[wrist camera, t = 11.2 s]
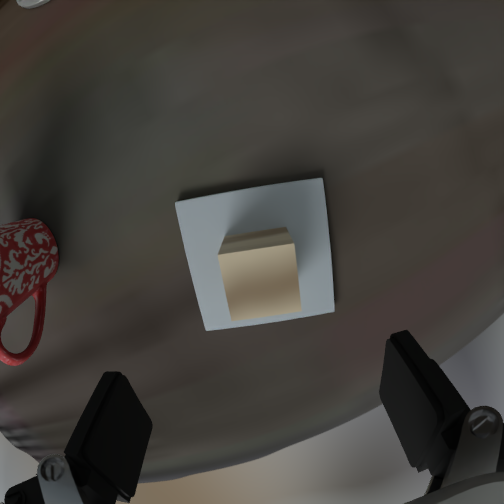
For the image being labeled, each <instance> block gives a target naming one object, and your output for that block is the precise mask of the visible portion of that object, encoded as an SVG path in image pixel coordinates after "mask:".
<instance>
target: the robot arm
mask: <svg viewBox="0 0 504 504" xmlns="http://www.w3.org/2000/svg"><path fill="white" fill-rule="evenodd" d="M48 1H50V0H17V3H18V5H20V6H22V7H24V8H27V9H28V8H35V7H38V6H40V5H43V4H45V3H47V2H48ZM379 394H380V398H381V401H382V403H383V405H384V407H385V409H386V411H387V413H388V416H389V418H390V420H391V422H392V424H393V427H394V429H395V431H396V433H397V435H398V438H399V440H400V442H401V445H402V447H403V449H404V451H405V454H406V456H407V458H408V461H409V463H410V465H411V466H412V467H416V468H417V470H418V472H421V471H423V470H426V469H429V471H430V473H431V475H432V477H431V480H430V483H429V485H428V487H427V490H426V492H425V494H424V496H422V497H419V498H417V499H414V500H412V501H410V502H407V503H404V504H504V423H503V419H502V417H501V415H500V413H499V412H498V411H497V410H496V409H494V408H492V407H489V406H479V407H475V408H474V409H472V410H470V408H469V407H468V405H467V404H466V403H465V401H464V400H463V398H462V397H461V395H460V394H459V393H458V391H457V390H456V388H455V387H454V386H453V384H452V383H451V382H450V381H449V379H448V378H447V376H446V375H445V373H444V372H443V371H442V369H441V368H440V367H439V365H438V364H437V363H436V362H435V361H434V360H433V359H430V358H429V357H428V356H427V354H426V353H425V352H424V350H423V349H422V348H421V347H420V345H419V344H418V343H417V341H416V340H415V339H414V338H413V336H412V335H411V334H410V332H409V331H408V330H404V331H400V332H397V333H393V334H391V336H390V339H387V341H386V348H385V356H384V364H383V371H382V377H381V384H380V390H379ZM151 431H152V421H151V419H150V417H149V416H148V414H147V413H146V411H145V409H144V408H143V406H142V404H141V403H140V401H139V399H138V397H137V396H136V394H135V392H134V390H133V389H132V387H131V385H130V383H129V381H128V379H127V378H126V376H124V375H122V373H121V372H105V373H104V374H103V376H102V377H101V379H100V381H99V383H98V385H97V387H96V389H95V390H94V392H93V394H92V396H91V398H90V400H89V402H88V404H87V406H86V408H85V410H84V412H83V414H82V415H81V417H80V419H79V421H78V423H77V426H76V428H75V430H74V432H73V434H72V436H71V438H70V440H69V442H68V444H67V446H66V448H65V451H64V453H65V454H66V455H65V458H64V457H63V456H61V455H59V454H51V455H48V456H46V457H45V458H43V459H42V460H41V462H40V463H39V465H38V469H37V475H38V476H36V477H33V478H31V479H29V480H27V481H24V482H22V483H20V484H17V485H15V486H13V487H11V488H9V490H8V491H7V492H6V494H5V499H4V500H5V504H115V503H116V500H117V501H122V502H127V503H130V499H131V497H133V496H134V495H135V491H136V487H137V484H138V480H139V476H140V472H141V468H142V464H143V460H144V456H145V453H146V449H147V445H148V442H149V438H150V434H151ZM0 504H4V503H3V502H1V503H0Z"/></svg>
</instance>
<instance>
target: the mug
mask: <svg viewBox="0 0 504 504" xmlns="http://www.w3.org/2000/svg"><path fill="white" fill-rule="evenodd" d="M58 262H59V256H58V248H57V244H56V241H55V239H54V236H53V234H52V233H51V231H50V230H49V228H48V227H47V226H46V225H45V224H44V223H43V222H41V221H40V220H38V219H35V218H28V219H23V220H20V221H16V222H12V223H8V224H4V225H0V360H1V361H2V362H4V363H6V364H8V365H11V366H16V365H20V364H22V363H24V362H25V361H26V360H27V359H28V358H29V357H30V356H31V355H32V354H33V353H34V351H35V350H36V348H37V346H38V344H39V342H40V339H41V335H42V331H43V325H44V318H45V306H46V285H47V283H48V282H49V281H50V280H51V279H52V278H53V277H54V275H55V274H56V271H57V268H58ZM31 295H32V296H33V297H34V299H35V319H34V327H33V333H32V337H31V341H30V343H29V345H28V347H27V348H26V349H25V350H24V351H23V352H21V353H18V354H13V353H11V352H9V351H7V350H6V349H5V347H4V346H3V344H2V342H1V331H2V328H3V326H4V325H5V322H6V317H7V316H8V315H9V314H10V313H11V312H12V311H13V310H15V309H16V308H17V307H18V306H19V305H20V304H22V303H23V302H24V301H25V300H26V299H27V298H28V297H30V296H31Z"/></svg>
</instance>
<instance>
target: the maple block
mask: <svg viewBox="0 0 504 504" xmlns="http://www.w3.org/2000/svg"><path fill="white" fill-rule="evenodd" d="M218 260H219V265H220V270H221V274H222V279H223V284H224V289H225V293H226V298H227V303H228V307H229V312H230V316H231V321H238V320H245V319H253V318H260V317H267V316H274V315H281V314H287V313H294V312H300V311H302V309H301V299H300V289H299V280H298V271H297V262H296V254H295V245H294V242H293V240H292V238H291V236H290V234H289V232H288V230H287V228H286V227H281V228H274V229H267V230H261V231H254V232H248V233H241V234H235V235H228V236H224V239H223V242H222V244H221V247H220V250H219V252H218Z"/></svg>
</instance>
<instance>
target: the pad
mask: <svg viewBox="0 0 504 504" xmlns="http://www.w3.org/2000/svg"><path fill="white" fill-rule="evenodd" d="M175 207H176V211H177V216H178V221H179V225H180V230H181V234H182V239H183V243H184V247H185V252H186V256H187V260H188V264H189V268H190V272H191V276H192V280H193V284H194V288H195V292H196V296H197V300H198V303H199V307H200V311H201V314H202V318H203V322H204V325H205V329H206V331H209V330H218V329H226V328H234V327H242V326H249V325H257V324H264V323H270V322H277V321H283V320H289V319H295V318H301V317H307V316H313V315H318V314H324V313H329V312H334V311H335V310H334V291H333V275H332V262H331V250H330V239H329V228H328V219H327V210H326V201H325V193H324V185H323V178H313V179H306V180H298V181H291V182H284V183H277V184H271V185H264V186H258V187H252V188H246V189H240V190H234V191H228V192H223V193H217V194H212V195H207V196H202V197H196V198H191V199H186V200H181V201H177V202H175ZM281 227H286V228H287V230H288V232H289V234H290V236H291V238H292V240H293V242H294V245H295V254H296V262H297V271H298V280H299V289H300V299H301V309H302V311H300V312H294V313H287V314H281V315H274V316H267V317H260V318H253V319H245V320H238V321H231V316H230V312H229V307H228V303H227V298H226V293H225V289H224V284H223V279H222V274H221V270H220V265H219V260H218V252H219V250H220V247H221V244H222V242H223V239H224V236H228V235H235V234H241V233H248V232H254V231H261V230H267V229H274V228H281Z"/></svg>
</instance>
